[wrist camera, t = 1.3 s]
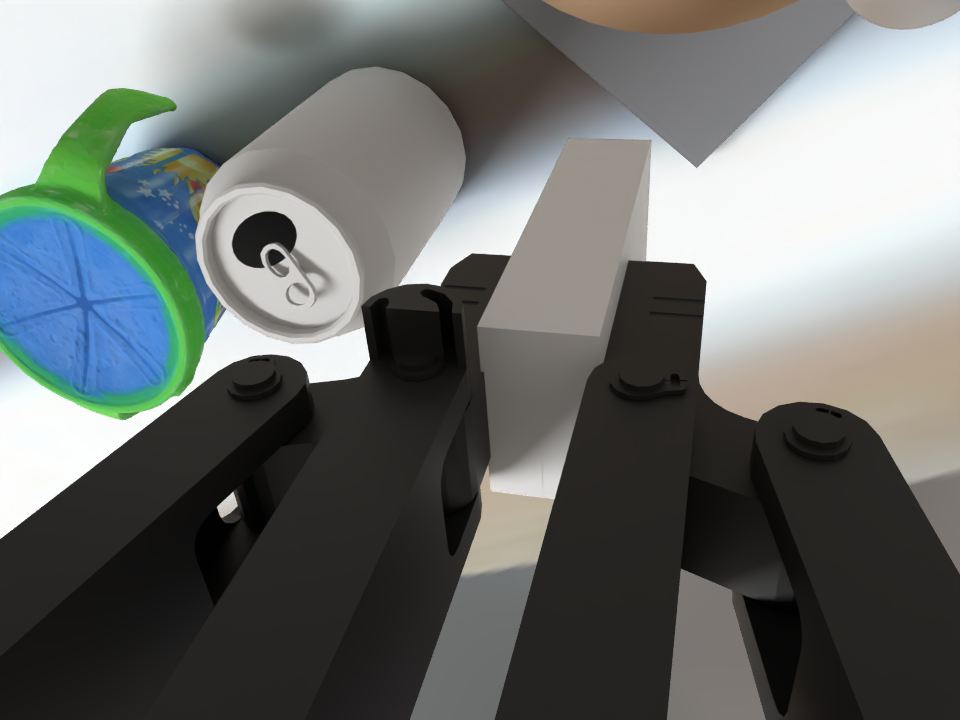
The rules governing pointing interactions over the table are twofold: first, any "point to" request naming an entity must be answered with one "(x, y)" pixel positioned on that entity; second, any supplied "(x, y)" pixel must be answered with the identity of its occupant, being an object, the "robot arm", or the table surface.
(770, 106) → the table surface
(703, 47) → the dial base
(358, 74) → the can
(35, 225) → the snack cup
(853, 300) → the table surface
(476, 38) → the table surface
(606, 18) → the dial
